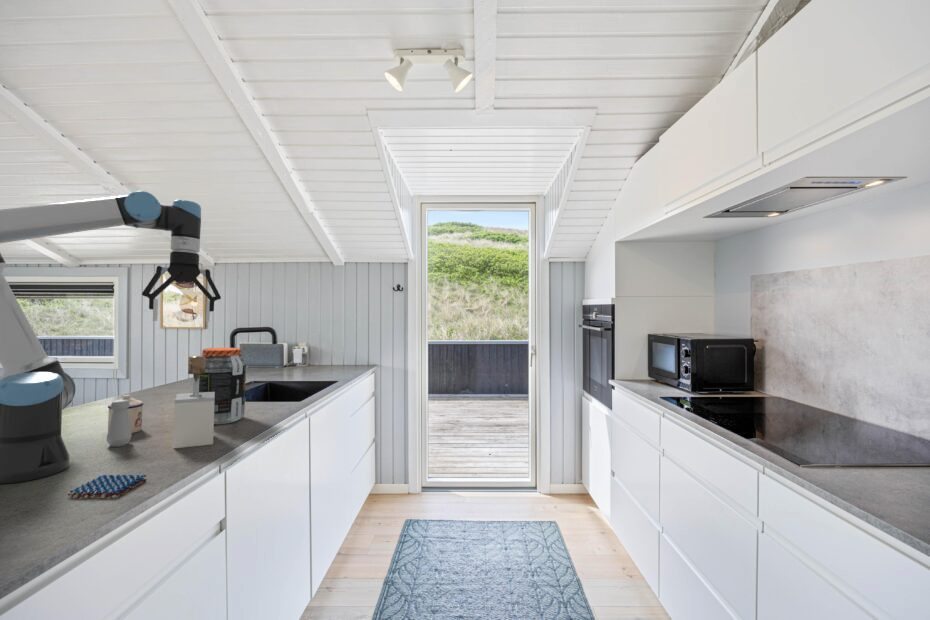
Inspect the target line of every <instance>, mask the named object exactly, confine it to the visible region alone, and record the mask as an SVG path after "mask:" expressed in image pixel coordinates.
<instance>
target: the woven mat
mask: <svg viewBox="0 0 930 620" xmlns="http://www.w3.org/2000/svg"><path fill="white" fill-rule="evenodd" d="M146 477H147V474H143V475H142V474H138V475H137V474H135V475H134V474H115V475H114V474H103V475H99V476H98V477H97V478H93V479H92V480H91V481H87V482H86V483H84V484H81V485H80V486H77V487H75V489H73V490H72V489H70V491H69V492H70V493H68V494H67V496H70V497H68V498H67V499H68V500H70V499H77V498H78V500H79V499H80V500H81V499H83V498H84V499H89V498H90V499H95V498H96V499H99V498H100V499H105V498H106V499H110V498H112V499H117V498H119V497H120V496H123V494H125V493H127V492H129V491H130V490H132V489H134V488H135V487H137V486H139V485H141V484H142V483H144V482H146V481H147V478H146Z"/></svg>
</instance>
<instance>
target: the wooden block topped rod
mask: <svg viewBox="0 0 930 620" xmlns="http://www.w3.org/2000/svg"><path fill="white" fill-rule="evenodd" d="M187 358H188V359H187V360H188V366H187V375H193V376H192V380H193V381H192V393H193V397H197V396H199V375H200V374H203V373H205V356H202V355H190V356H188V357H187Z"/></svg>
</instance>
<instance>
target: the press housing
mask: <svg viewBox="0 0 930 620" xmlns="http://www.w3.org/2000/svg"><path fill="white" fill-rule="evenodd" d="M214 401H215V392H200V393H199V396H197V397H193V392H187V393H183V392H182V393H177V394H176V396H175V399H174V411H173V412H174V414H173V415H174V417H173V442H172V443H173V444H172V448H173V449H182V448H190V447H200V446H207V445H214V429H215V428H214V425H215V424H214Z"/></svg>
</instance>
